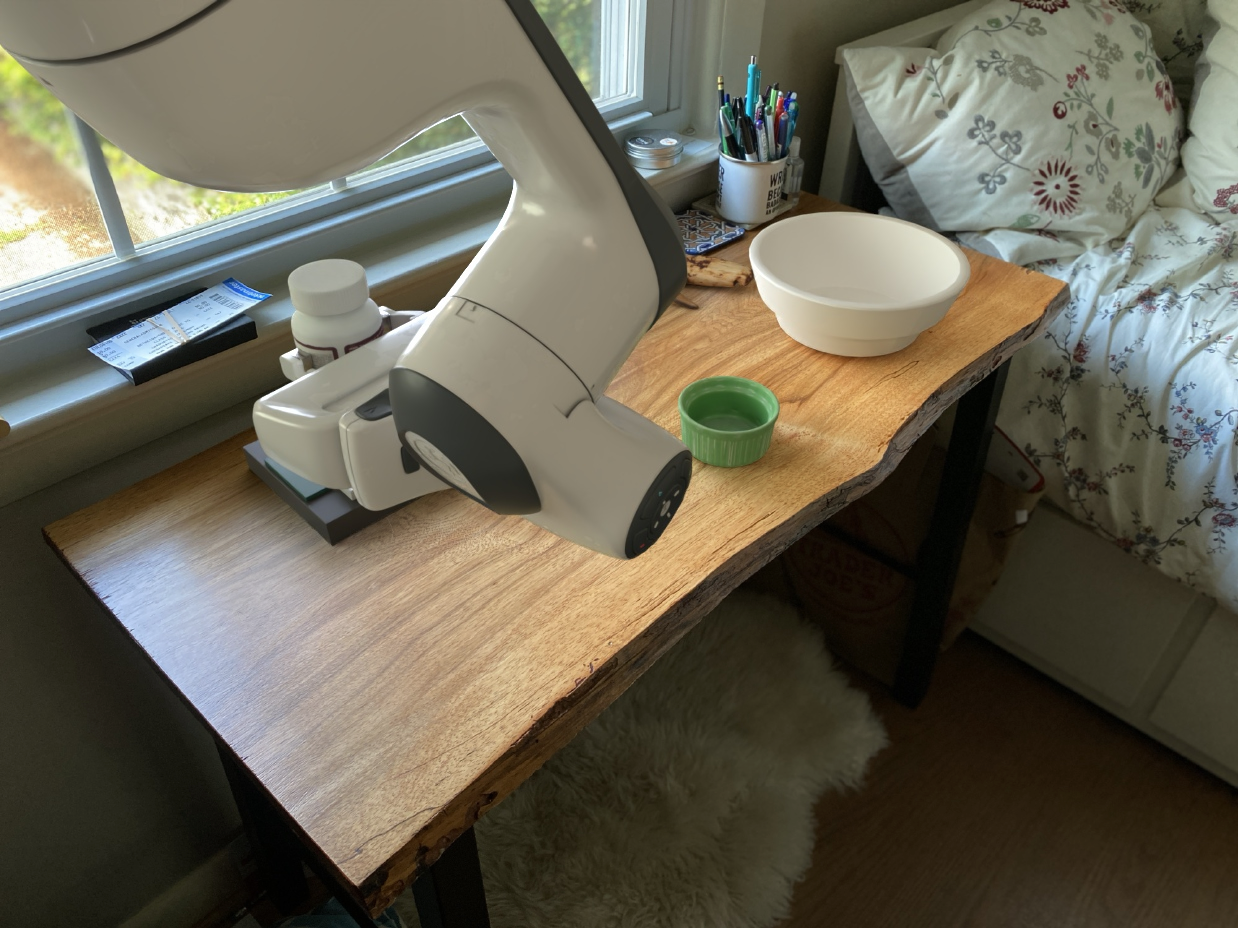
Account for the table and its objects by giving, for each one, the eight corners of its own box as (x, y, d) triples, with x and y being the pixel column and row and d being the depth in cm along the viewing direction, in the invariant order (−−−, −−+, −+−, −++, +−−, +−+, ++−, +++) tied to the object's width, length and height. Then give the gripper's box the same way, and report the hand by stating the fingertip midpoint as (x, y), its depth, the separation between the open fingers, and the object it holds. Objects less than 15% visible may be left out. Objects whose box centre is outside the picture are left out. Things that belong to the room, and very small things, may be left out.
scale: (332, 546, 75) (323, 514, 72) (249, 468, 82) (239, 437, 80) (490, 459, 83) (486, 429, 81) (401, 396, 91) (396, 367, 89)
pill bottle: (396, 386, 73) (373, 251, 66) (398, 430, 68) (374, 290, 61) (315, 395, 72) (282, 259, 65) (311, 441, 67) (276, 299, 60)
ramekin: (657, 450, 84) (658, 410, 82) (707, 403, 90) (709, 364, 87) (745, 486, 80) (750, 445, 78) (791, 434, 86) (797, 394, 83)
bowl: (873, 264, 113) (885, 198, 108) (998, 355, 97) (1020, 282, 92) (707, 299, 106) (711, 230, 101) (812, 402, 90) (823, 327, 85)
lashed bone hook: (587, 291, 109) (734, 319, 103) (585, 255, 106) (736, 281, 100) (620, 256, 115) (760, 280, 109) (618, 221, 112) (762, 243, 106)
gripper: (572, 302, 64) (435, 248, 71) (330, 442, 52) (193, 361, 59) (575, 379, 68) (446, 321, 75) (351, 527, 56) (220, 441, 63)
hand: (333, 339), depth 67 cm, fingers closed on pill bottle, 6 cm apart
